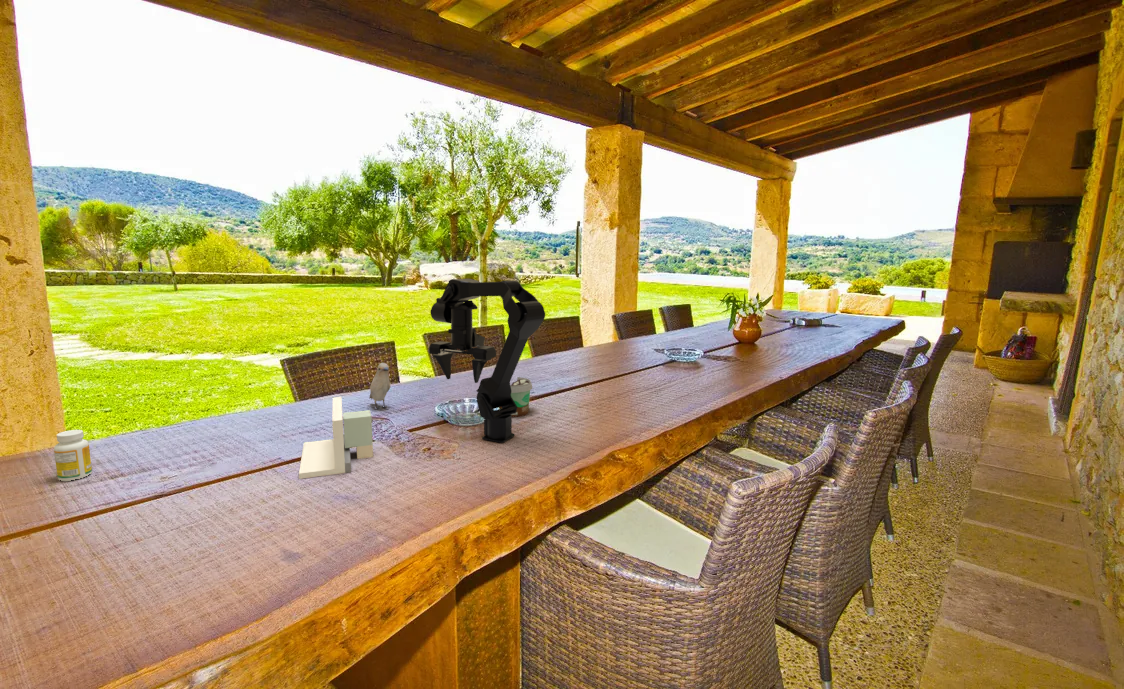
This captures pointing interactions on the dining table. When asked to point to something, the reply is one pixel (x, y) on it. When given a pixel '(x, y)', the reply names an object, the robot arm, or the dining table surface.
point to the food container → (521, 395)
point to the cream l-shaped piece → (327, 450)
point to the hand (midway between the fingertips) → (462, 380)
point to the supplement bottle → (72, 456)
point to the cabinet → (359, 432)
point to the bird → (380, 383)
